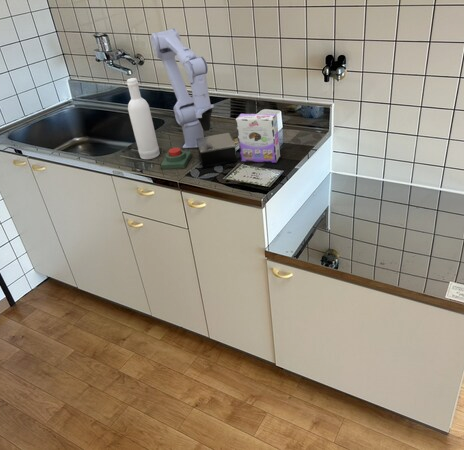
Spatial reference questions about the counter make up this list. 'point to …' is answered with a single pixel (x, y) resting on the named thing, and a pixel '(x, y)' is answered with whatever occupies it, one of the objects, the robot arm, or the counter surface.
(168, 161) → the green base
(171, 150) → the timer button
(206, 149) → the canister lid
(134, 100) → the bottle
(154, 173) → the counter surface
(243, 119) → the candy box
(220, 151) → the black boxy piece
